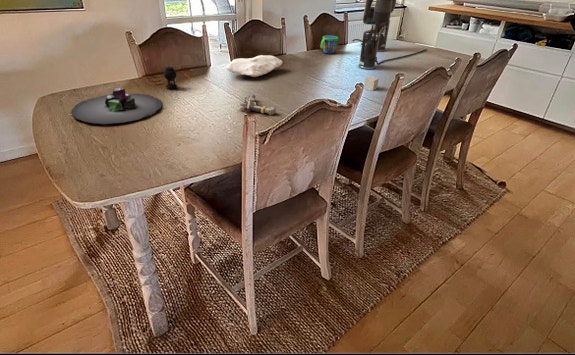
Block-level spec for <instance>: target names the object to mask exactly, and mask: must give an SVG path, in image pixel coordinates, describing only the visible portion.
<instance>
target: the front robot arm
mask: <svg viewBox="0 0 575 355" xmlns="http://www.w3.org/2000/svg"><path fill="white" fill-rule="evenodd" d="M373 2H374V0H365V5H364V10H363V15H362V22H363V24H364V25H370V26H371V28H370V29H368V30H367V29H366V30H364V31H363V34H362V42H361V43H362V45H361V49H360V55H359V61H358V68H359V69H363V70H374V69H375V67H376V64H377V65H380V64H382V63H384V62H389V61H393V60H397V59H402V58H406V57H410V56H413V55H416V54H419V53H422V52H425V51H427V50H428V49H427V48H425V49H422V50H420V51H417V52H413V53H410V54H406V55H401V56H398V57H393V58H387V59H383V60H381V61H380V62H378V57H377V53H378V51H377V49H378V45H380V46H382V45H383V41H384V37H385V35H387V30H388V24H389V23H388V22H389V20H390V21H391V19H390V18H391V14H392V13H391V8H392V0H376V1H375V4H374V6H373V5H372V4H373ZM389 25H390V24H389ZM388 31H389V30H388ZM379 36H380V37H379ZM387 36H388V35H387Z"/></svg>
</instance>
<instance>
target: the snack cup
mask: <svg viewBox="0 0 575 355" xmlns="http://www.w3.org/2000/svg"><path fill="white" fill-rule="evenodd" d="M339 45H340V39H339V36H337V35H328V34H327V35H326V34H325V35H323V36H322V39H321V42H320V46H319V48H320V49H321V50H323V53H324V54H328V55H329V54H330V55H331V54H335V52H336V49H337V47H339Z"/></svg>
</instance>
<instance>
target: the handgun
mask: <svg viewBox="0 0 575 355" xmlns="http://www.w3.org/2000/svg"><path fill="white" fill-rule="evenodd" d="M239 106H240V108H239V109H240V111H243V112H244V113H250V112H256V113H261V114H264V113H266V114H268V115H270V116H272V115H275V113H276V111H277V108H276V107H275V106H271V107H268V106H267V105H257V102H256V94H253V93H246V94H245V95H244V103H240V105H239Z"/></svg>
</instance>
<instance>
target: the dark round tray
mask: <svg viewBox="0 0 575 355" xmlns="http://www.w3.org/2000/svg"><path fill="white" fill-rule="evenodd" d="M158 98H159V97H158ZM158 98H157V97H154V96H153V95H149V94H142V93H127V92H126V89H125V88H122V87H120V86H116V87H115V88H114V89H113V90H112V94H106V95H101V96H98V97H92V98H89V99H86V100H83V101H80V102H79V103H77V104H76V105H74V106H73V108H72V109H71V110H70V111H71V117H72V118H74V119H77V120H79V121H82V122H85V123H91V124H97V125H99V124H100V125H113V124H120V123H121V124H122V123H123V124H124V123H129V122H133V121H138V120H141V119H145V118H148V117H150V116H153V115H154V114H157V112H159V111H161V109H162V107H163V104H162V100H160V99H158Z"/></svg>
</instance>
